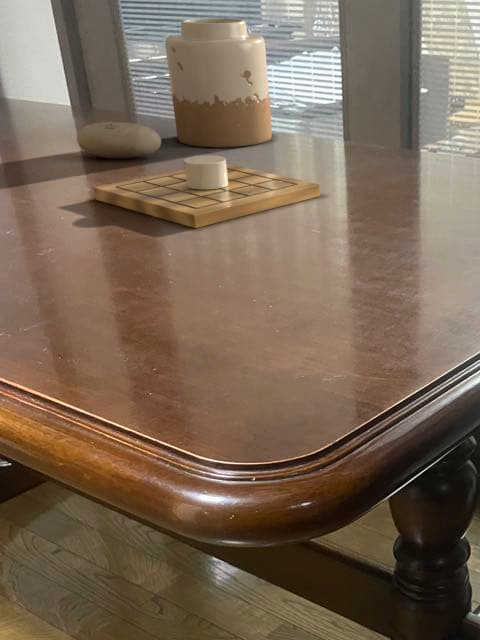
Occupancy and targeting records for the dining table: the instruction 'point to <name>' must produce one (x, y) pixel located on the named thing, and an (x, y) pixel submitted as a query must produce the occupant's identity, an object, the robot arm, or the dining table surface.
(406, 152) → the dining table surface
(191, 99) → the vase
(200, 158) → the cylinder
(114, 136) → the stone
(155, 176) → the board
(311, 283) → the dining table surface
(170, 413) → the dining table surface
